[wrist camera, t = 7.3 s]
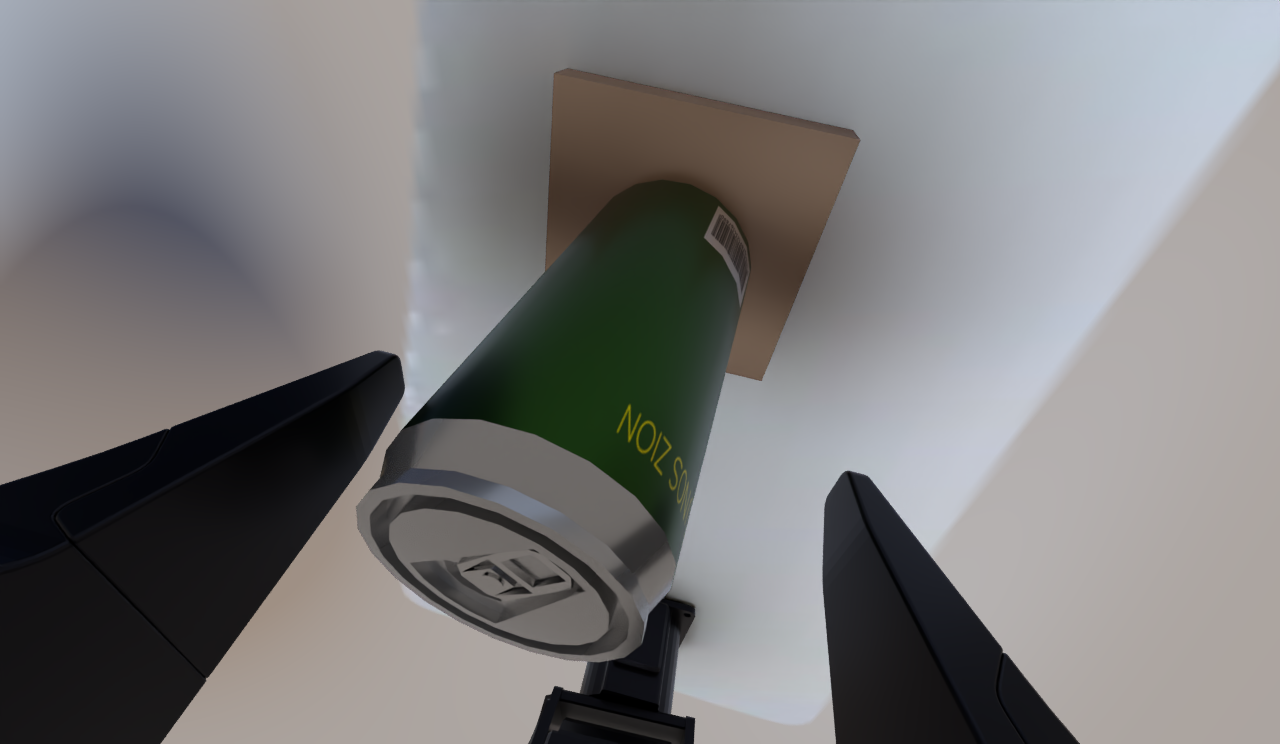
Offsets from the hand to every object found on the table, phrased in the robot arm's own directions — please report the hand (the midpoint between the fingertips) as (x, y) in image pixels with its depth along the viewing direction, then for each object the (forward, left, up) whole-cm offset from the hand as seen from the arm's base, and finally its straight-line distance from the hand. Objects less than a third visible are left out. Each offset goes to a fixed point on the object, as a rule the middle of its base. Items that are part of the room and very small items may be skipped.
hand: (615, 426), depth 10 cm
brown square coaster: (0, 0, -11) cm, 11 cm away
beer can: (0, 0, -9) cm, 9 cm away
